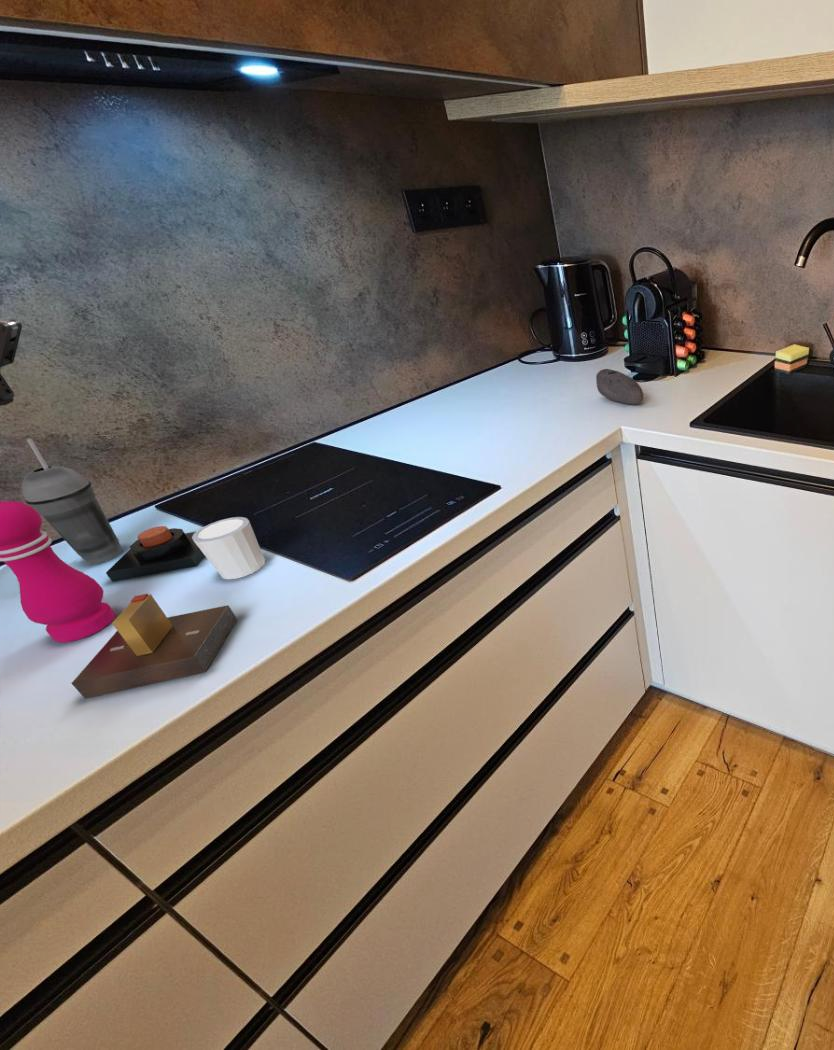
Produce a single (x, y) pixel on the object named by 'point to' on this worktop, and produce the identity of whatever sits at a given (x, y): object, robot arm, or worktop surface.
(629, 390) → the perforated stone tool
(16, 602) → the worktop surface
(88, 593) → the pepper mill
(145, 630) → the lock knob
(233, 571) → the white cup
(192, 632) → the plate
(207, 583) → the worktop surface
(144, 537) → the button
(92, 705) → the worktop surface
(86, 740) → the worktop surface
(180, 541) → the block
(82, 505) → the beverage cup
